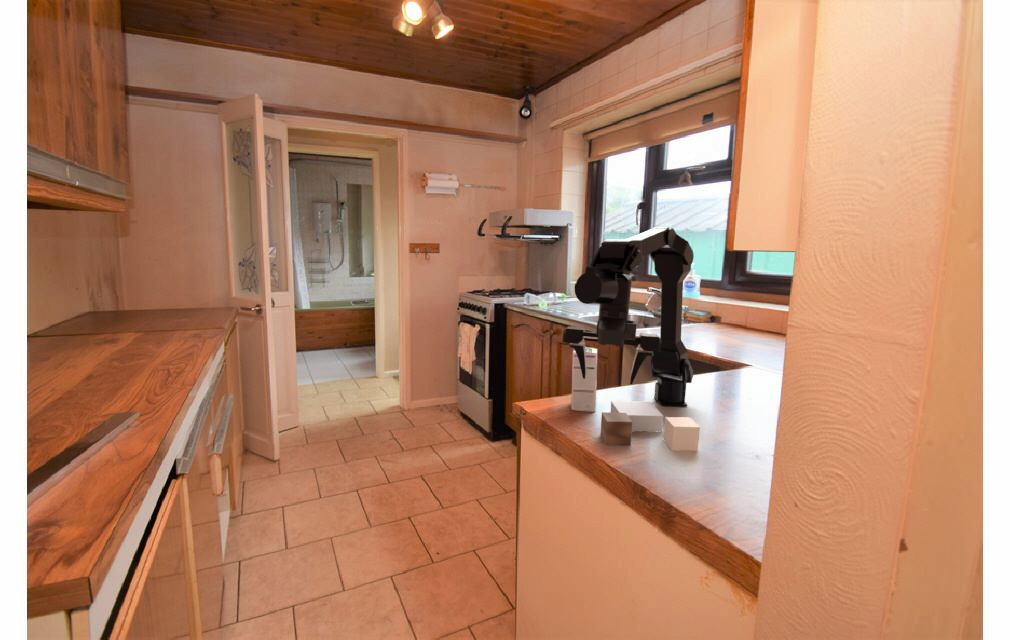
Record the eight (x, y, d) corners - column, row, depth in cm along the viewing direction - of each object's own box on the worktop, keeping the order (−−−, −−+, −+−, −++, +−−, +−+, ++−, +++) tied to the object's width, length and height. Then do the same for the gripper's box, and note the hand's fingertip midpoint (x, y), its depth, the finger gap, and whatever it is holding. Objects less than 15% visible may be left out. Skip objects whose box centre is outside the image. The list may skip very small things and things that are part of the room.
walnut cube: (624, 435, 97) (625, 412, 96) (630, 445, 92) (632, 421, 91) (600, 435, 97) (601, 412, 96) (605, 445, 92) (606, 421, 91)
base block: (648, 418, 108) (650, 401, 107) (662, 433, 99) (663, 415, 99) (610, 417, 108) (611, 400, 107) (620, 433, 99) (621, 415, 98)
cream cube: (687, 440, 95) (689, 417, 94) (697, 451, 90) (699, 427, 89) (663, 440, 95) (665, 417, 94) (671, 450, 90) (673, 426, 89)
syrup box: (595, 412, 110) (598, 352, 108) (570, 410, 111) (572, 351, 109) (595, 404, 116) (598, 347, 113) (571, 402, 117) (574, 346, 114)
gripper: (562, 301, 86) (555, 384, 87) (668, 310, 82) (659, 397, 83) (568, 299, 97) (562, 372, 98) (662, 306, 92) (654, 383, 94)
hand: (607, 381), depth 93 cm, fingers open, 9 cm apart
